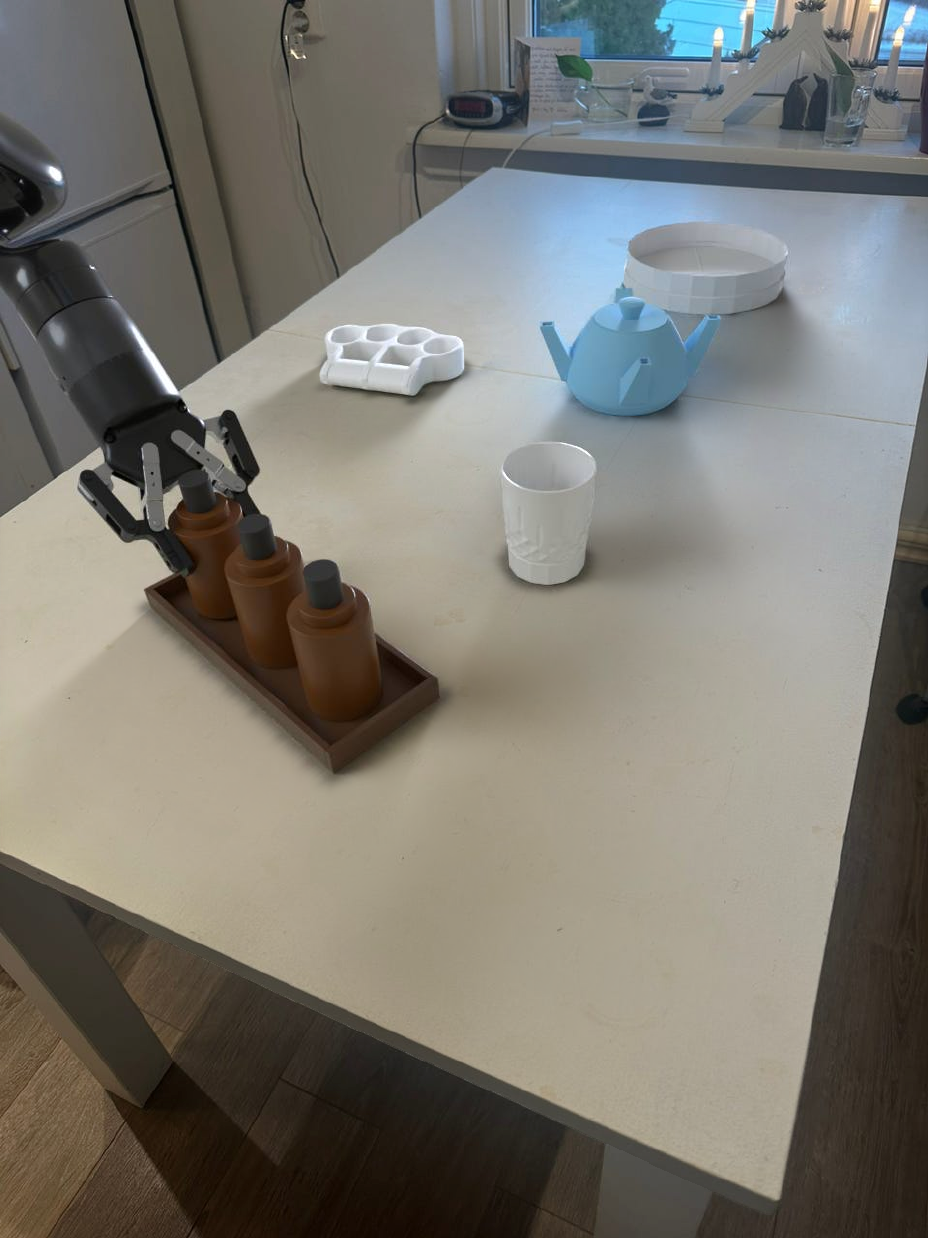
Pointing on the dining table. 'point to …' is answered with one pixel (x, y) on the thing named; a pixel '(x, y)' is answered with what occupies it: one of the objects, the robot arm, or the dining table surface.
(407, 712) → the tray
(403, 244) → the dining table surface
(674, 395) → the teapot
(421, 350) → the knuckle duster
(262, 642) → the bottle mid
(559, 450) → the white cup
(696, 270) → the dish
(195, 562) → the bottle
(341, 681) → the bottle near
